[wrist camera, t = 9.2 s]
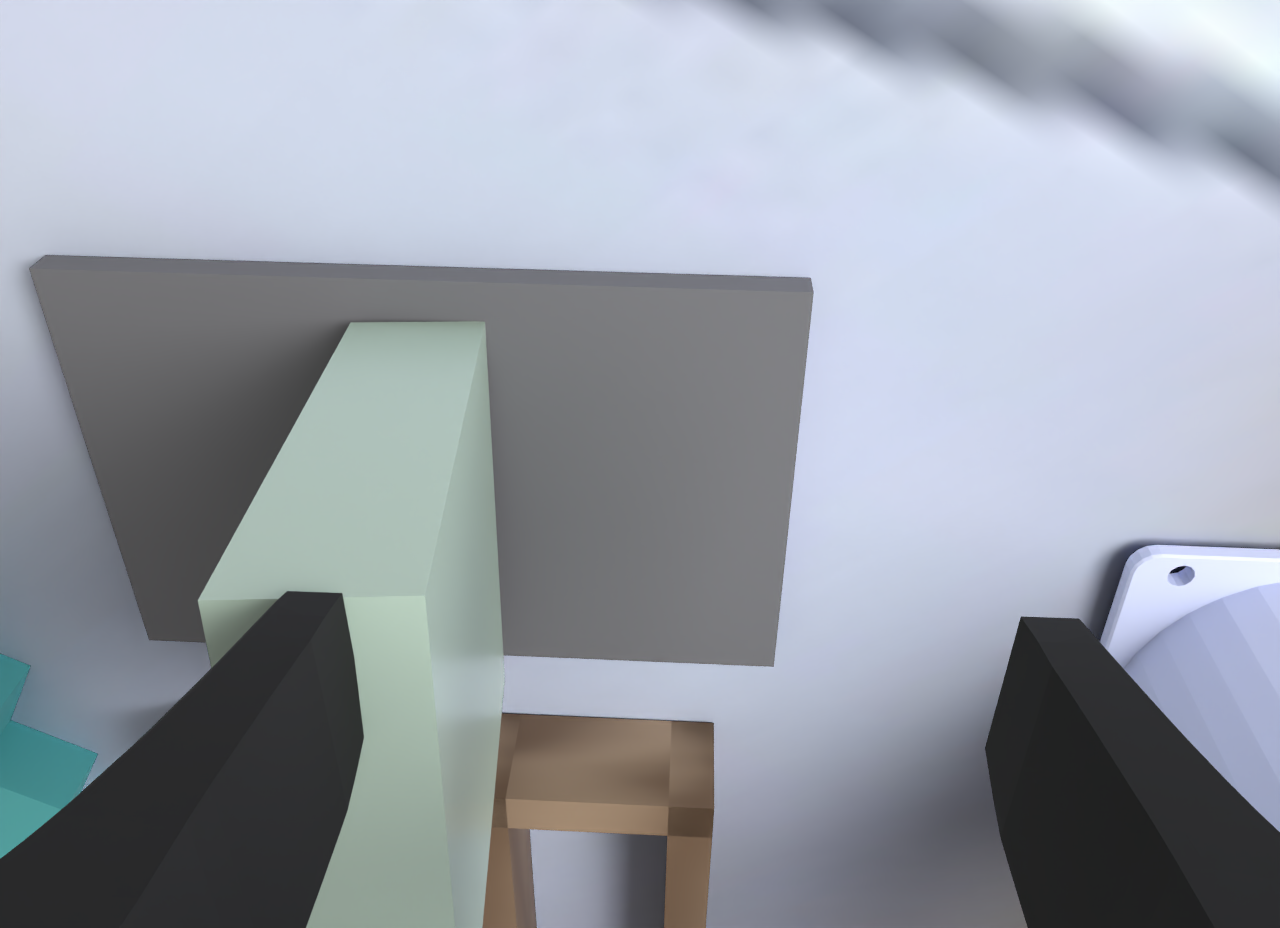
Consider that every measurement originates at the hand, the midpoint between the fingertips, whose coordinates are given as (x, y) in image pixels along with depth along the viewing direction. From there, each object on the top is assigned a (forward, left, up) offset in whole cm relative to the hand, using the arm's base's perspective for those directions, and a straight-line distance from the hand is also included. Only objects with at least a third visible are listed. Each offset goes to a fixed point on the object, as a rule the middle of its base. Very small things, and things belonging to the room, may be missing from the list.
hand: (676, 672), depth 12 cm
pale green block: (+5, +4, -8) cm, 11 cm away
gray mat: (+5, +4, -10) cm, 11 cm away
